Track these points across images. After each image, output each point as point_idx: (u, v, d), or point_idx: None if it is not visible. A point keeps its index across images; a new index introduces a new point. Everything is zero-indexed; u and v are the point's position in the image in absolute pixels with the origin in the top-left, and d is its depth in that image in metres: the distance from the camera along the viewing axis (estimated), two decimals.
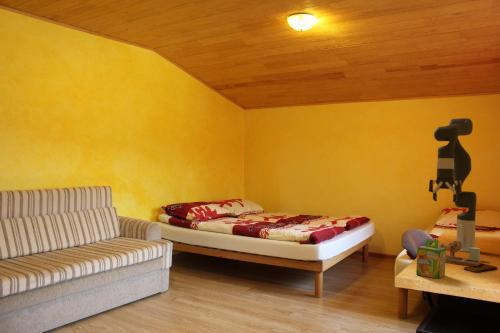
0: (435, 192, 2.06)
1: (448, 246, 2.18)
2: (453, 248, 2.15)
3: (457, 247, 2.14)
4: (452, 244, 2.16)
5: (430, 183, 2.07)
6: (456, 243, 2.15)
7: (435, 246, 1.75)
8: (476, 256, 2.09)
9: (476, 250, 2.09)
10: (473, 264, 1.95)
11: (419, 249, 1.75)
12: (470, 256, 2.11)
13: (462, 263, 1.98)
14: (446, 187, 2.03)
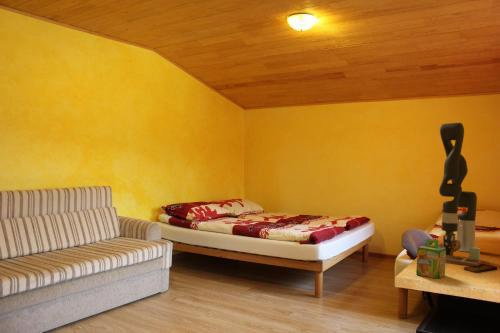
0: None
1: None
2: (452, 247, 2.16)
3: (456, 246, 2.15)
4: None
5: (448, 239, 2.14)
6: (455, 242, 2.15)
7: (435, 246, 1.75)
8: (476, 256, 2.09)
9: (476, 250, 2.09)
10: (473, 264, 1.95)
11: (419, 249, 1.75)
12: (470, 256, 2.11)
13: (462, 263, 1.98)
14: (451, 239, 2.19)
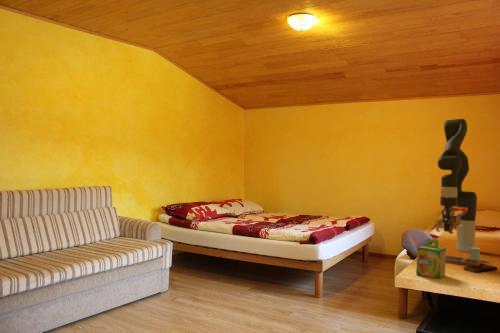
0: None
1: None
2: (452, 223, 2.05)
3: (456, 222, 2.04)
4: (451, 219, 2.05)
5: (447, 214, 2.03)
6: (455, 218, 2.04)
7: (435, 246, 1.75)
8: (476, 256, 2.09)
9: (476, 250, 2.09)
10: (473, 264, 1.95)
11: (419, 249, 1.75)
12: (470, 256, 2.11)
13: (462, 263, 1.98)
14: (450, 215, 2.08)
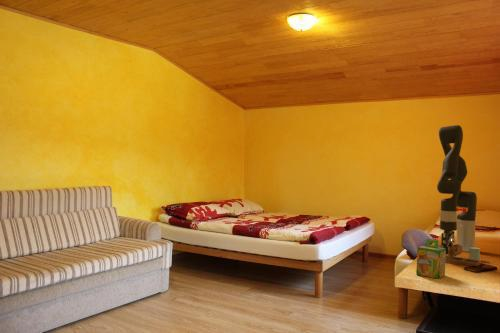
0: None
1: None
2: (453, 252, 2.04)
3: (457, 252, 2.03)
4: (452, 248, 2.04)
5: (447, 237, 2.02)
6: (457, 247, 2.03)
7: (435, 246, 1.75)
8: (476, 256, 2.09)
9: (476, 250, 2.09)
10: (473, 264, 1.95)
11: (419, 249, 1.75)
12: (470, 256, 2.11)
13: (462, 263, 1.98)
14: (450, 239, 2.08)
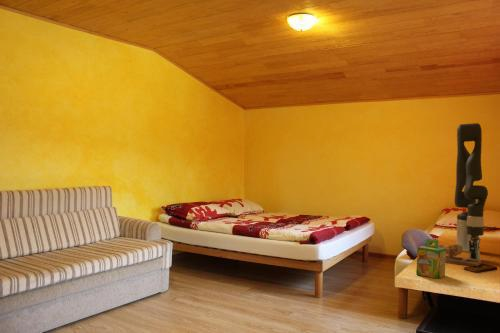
0: None
1: (447, 249, 2.06)
2: (453, 252, 2.04)
3: (457, 252, 2.03)
4: (452, 248, 2.04)
5: (474, 244, 2.06)
6: (457, 247, 2.03)
7: (435, 246, 1.75)
8: (476, 256, 2.09)
9: (476, 250, 2.09)
10: (473, 264, 1.95)
11: (419, 249, 1.75)
12: (470, 256, 2.11)
13: (462, 263, 1.98)
14: None
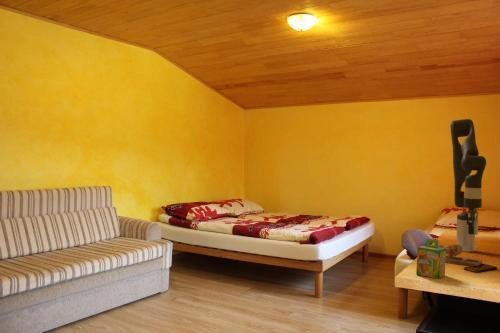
0: None
1: (447, 249, 2.06)
2: (453, 252, 2.04)
3: (457, 252, 2.03)
4: (452, 248, 2.04)
5: (472, 217, 1.96)
6: (457, 247, 2.03)
7: (435, 246, 1.75)
8: (474, 229, 1.99)
9: (474, 223, 1.99)
10: (473, 264, 1.95)
11: (419, 249, 1.75)
12: None
13: (462, 263, 1.98)
14: None
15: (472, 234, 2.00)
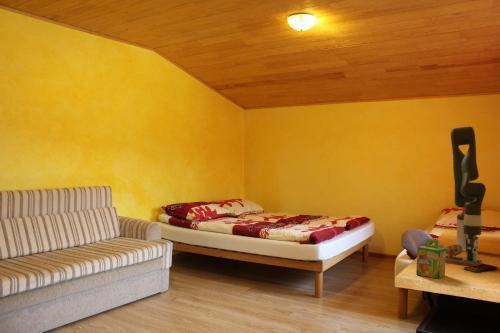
0: None
1: (447, 249, 2.06)
2: (453, 252, 2.04)
3: (457, 252, 2.03)
4: (452, 248, 2.04)
5: (471, 243, 1.96)
6: (457, 247, 2.03)
7: (435, 246, 1.75)
8: (474, 260, 1.99)
9: (473, 254, 1.99)
10: (473, 264, 1.95)
11: (419, 249, 1.75)
12: (467, 260, 2.01)
13: (462, 263, 1.98)
14: (474, 243, 2.01)
15: None
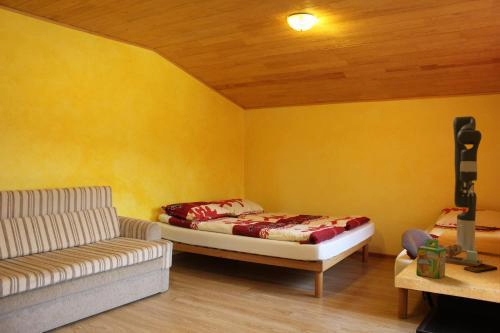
0: None
1: (447, 249, 2.06)
2: (453, 252, 2.04)
3: (457, 251, 2.03)
4: (452, 248, 2.04)
5: (467, 186, 2.02)
6: (457, 247, 2.03)
7: (435, 246, 1.75)
8: (474, 260, 1.99)
9: (473, 254, 1.99)
10: (473, 264, 1.95)
11: (419, 249, 1.75)
12: (467, 260, 2.01)
13: (462, 263, 1.98)
14: (471, 190, 2.08)
15: None
